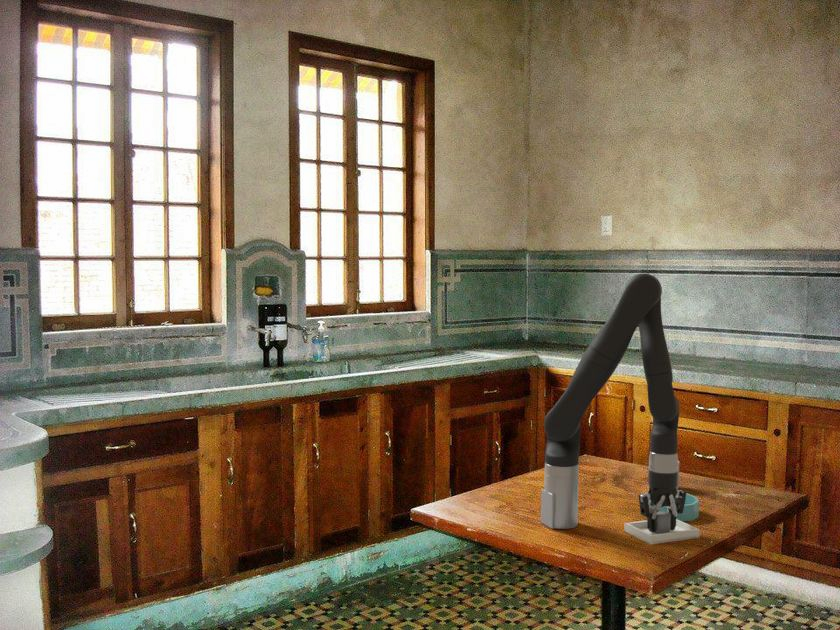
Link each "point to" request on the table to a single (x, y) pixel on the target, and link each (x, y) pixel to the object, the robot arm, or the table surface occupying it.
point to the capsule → (663, 522)
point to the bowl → (686, 508)
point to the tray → (680, 533)
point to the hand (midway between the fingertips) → (661, 530)
